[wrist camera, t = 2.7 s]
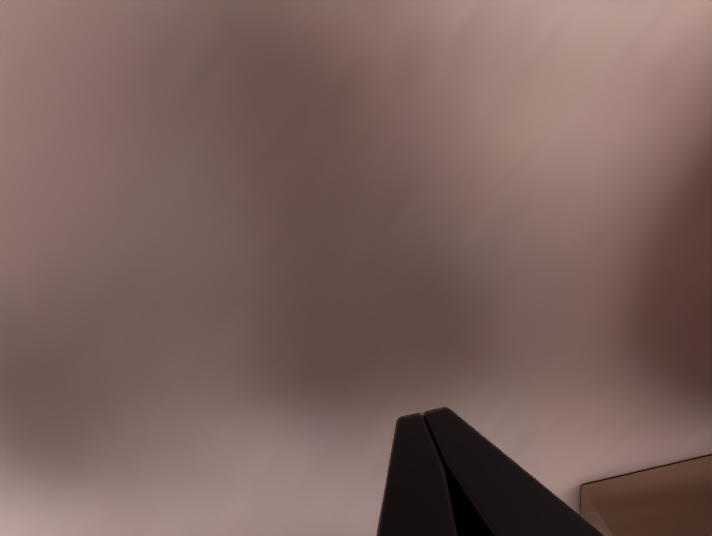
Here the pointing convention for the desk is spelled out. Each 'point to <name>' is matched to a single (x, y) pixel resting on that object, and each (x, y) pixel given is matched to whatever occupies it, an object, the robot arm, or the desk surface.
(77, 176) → the desk surface
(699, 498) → the rail
